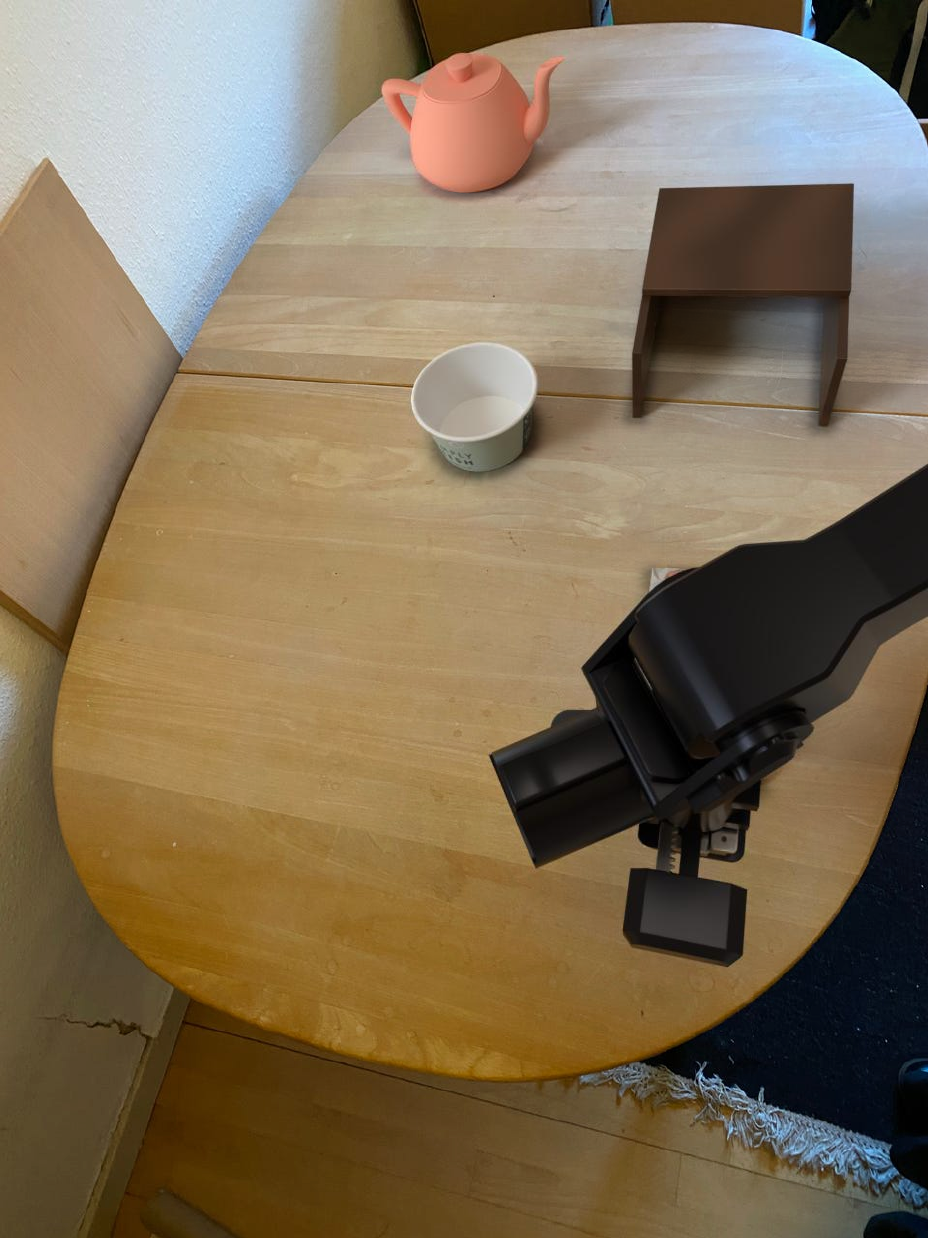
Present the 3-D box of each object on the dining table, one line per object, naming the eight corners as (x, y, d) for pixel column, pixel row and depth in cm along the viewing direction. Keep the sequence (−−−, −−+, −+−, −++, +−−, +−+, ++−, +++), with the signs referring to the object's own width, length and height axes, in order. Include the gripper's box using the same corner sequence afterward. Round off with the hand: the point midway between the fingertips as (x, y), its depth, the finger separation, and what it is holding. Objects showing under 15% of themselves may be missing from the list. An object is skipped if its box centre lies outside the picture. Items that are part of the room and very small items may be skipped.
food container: (405, 463, 83) (387, 420, 78) (460, 376, 87) (447, 329, 82) (511, 498, 79) (502, 454, 73) (564, 404, 83) (559, 356, 77)
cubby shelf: (833, 266, 85) (854, 182, 77) (827, 426, 76) (849, 351, 68) (657, 266, 89) (659, 187, 81) (632, 417, 81) (631, 346, 73)
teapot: (583, 122, 103) (577, 14, 92) (557, 204, 97) (547, 98, 86) (417, 124, 109) (393, 23, 98) (383, 202, 103) (353, 103, 92)
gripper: (574, 570, 48) (589, 677, 61) (513, 904, 40) (545, 942, 54) (780, 589, 45) (747, 697, 58) (757, 953, 37) (726, 980, 51)
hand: (689, 821), depth 55 cm, fingers closed
